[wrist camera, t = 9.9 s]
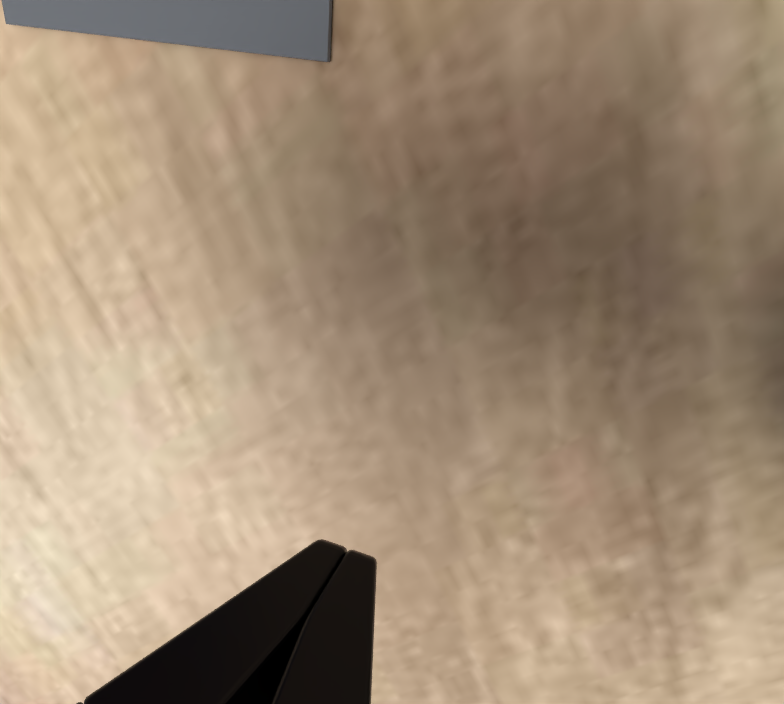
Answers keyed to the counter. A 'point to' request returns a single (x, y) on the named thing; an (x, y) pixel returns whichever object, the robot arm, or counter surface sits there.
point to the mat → (192, 22)
